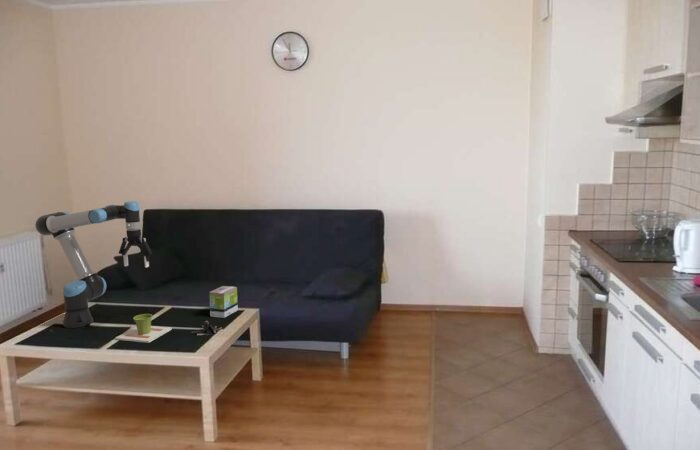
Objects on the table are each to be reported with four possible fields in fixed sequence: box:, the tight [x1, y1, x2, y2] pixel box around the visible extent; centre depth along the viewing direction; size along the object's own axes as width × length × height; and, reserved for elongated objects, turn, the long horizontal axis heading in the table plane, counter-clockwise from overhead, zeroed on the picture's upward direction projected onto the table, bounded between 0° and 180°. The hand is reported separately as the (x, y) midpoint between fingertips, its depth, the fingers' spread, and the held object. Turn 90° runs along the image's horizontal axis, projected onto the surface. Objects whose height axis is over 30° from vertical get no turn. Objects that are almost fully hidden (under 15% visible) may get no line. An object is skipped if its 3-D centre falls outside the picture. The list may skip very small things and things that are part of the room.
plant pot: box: [132, 313, 153, 334], centre depth 298 cm, size 9×9×9 cm
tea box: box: [209, 285, 239, 319], centre depth 330 cm, size 15×10×15 cm
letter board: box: [114, 325, 173, 344], centre depth 298 cm, size 20×20×1 cm
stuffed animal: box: [190, 320, 223, 336], centre depth 300 cm, size 12×10×12 cm
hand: (136, 266), depth 319 cm, fingers open, 13 cm apart
